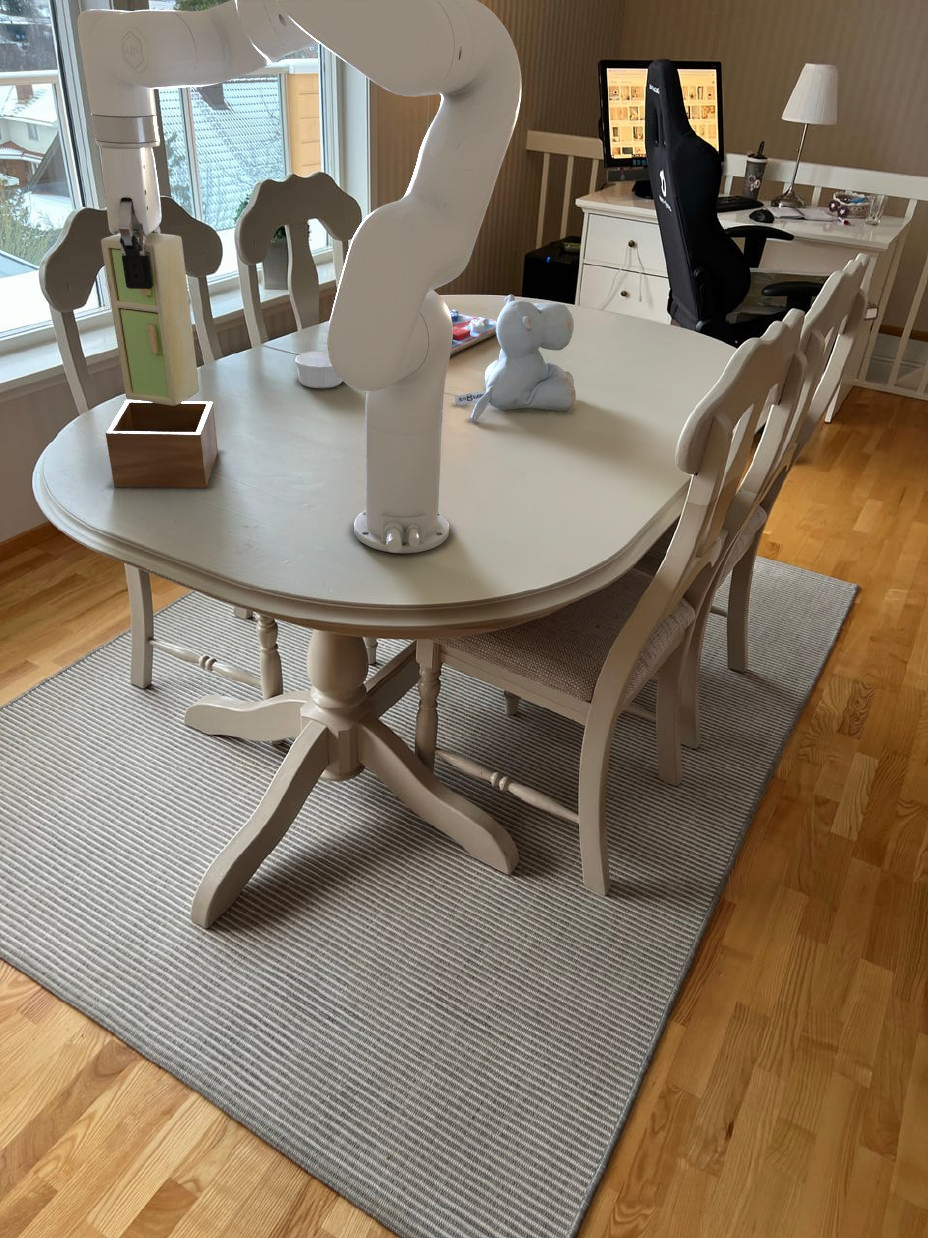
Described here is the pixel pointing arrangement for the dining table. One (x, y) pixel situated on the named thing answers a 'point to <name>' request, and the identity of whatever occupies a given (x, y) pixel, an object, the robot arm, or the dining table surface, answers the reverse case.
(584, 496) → the dining table surface
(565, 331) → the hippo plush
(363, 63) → the robot arm
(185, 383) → the toy refrigerator
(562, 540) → the dining table surface
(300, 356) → the ramekin
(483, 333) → the puzzle board
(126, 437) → the open wooden box
